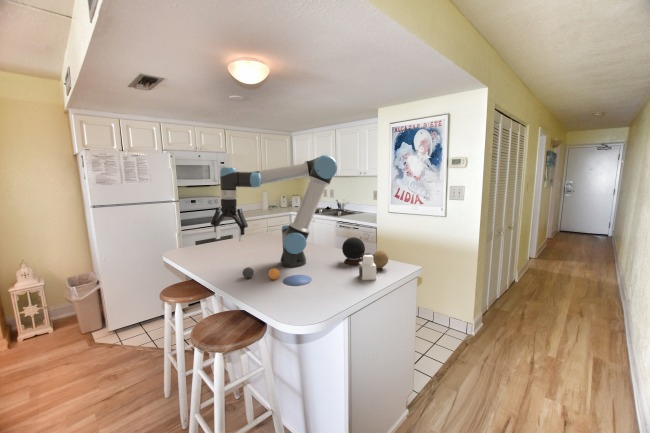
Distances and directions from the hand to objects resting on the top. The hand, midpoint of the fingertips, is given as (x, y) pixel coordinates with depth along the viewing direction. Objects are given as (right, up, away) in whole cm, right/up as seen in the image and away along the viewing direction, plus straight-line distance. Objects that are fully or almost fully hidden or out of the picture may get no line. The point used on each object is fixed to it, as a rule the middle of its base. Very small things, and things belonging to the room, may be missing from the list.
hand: (229, 239), depth 147 cm
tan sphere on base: (+79, -17, +9) cm, 81 cm away
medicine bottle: (+70, -19, -4) cm, 73 cm away
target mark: (+35, -19, -5) cm, 41 cm away
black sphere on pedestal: (+66, -15, +20) cm, 70 cm away
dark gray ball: (+10, -17, -1) cm, 19 cm away
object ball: (+24, -17, -3) cm, 29 cm away
